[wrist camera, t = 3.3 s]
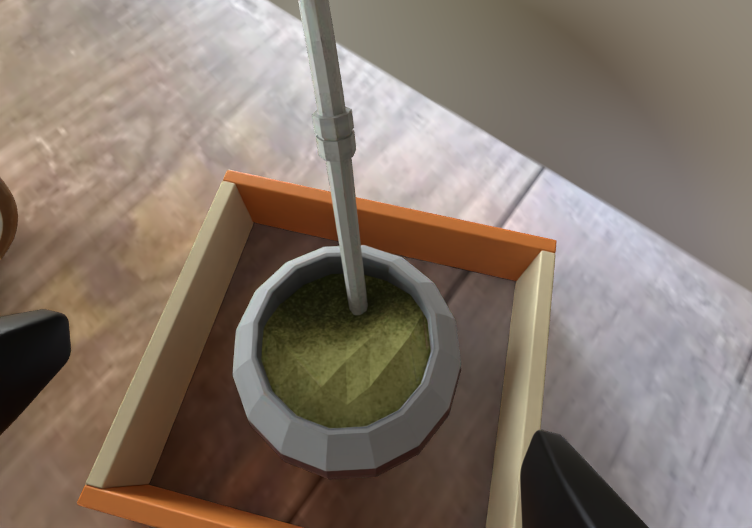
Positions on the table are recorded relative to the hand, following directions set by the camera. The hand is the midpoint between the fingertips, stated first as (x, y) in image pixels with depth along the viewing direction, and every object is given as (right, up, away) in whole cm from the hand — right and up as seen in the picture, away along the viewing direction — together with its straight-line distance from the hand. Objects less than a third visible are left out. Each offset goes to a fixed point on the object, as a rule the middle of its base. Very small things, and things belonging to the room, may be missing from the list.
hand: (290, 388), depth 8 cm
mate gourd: (+1, -2, +11) cm, 12 cm away
